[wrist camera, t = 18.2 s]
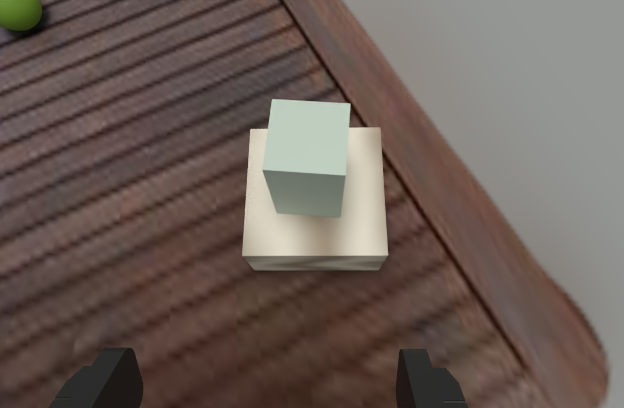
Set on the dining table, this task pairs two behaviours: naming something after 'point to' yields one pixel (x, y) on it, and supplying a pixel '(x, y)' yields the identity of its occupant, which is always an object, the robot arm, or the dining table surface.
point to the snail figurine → (20, 14)
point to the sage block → (307, 157)
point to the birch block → (315, 229)
